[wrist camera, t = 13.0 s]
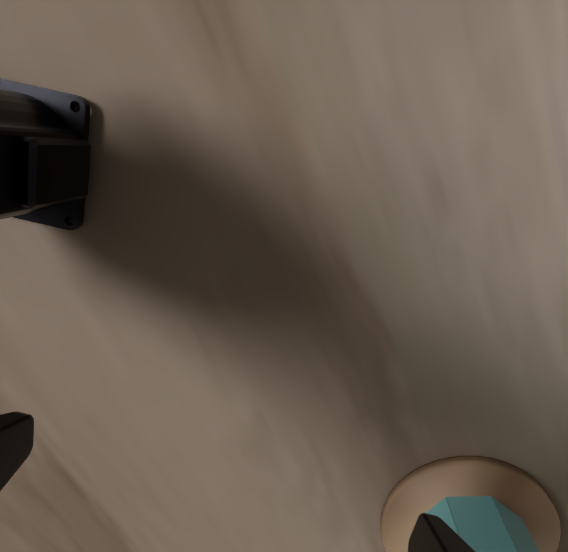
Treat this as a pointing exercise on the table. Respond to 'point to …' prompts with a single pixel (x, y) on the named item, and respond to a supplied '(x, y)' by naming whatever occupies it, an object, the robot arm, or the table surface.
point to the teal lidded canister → (485, 524)
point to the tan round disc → (468, 482)
